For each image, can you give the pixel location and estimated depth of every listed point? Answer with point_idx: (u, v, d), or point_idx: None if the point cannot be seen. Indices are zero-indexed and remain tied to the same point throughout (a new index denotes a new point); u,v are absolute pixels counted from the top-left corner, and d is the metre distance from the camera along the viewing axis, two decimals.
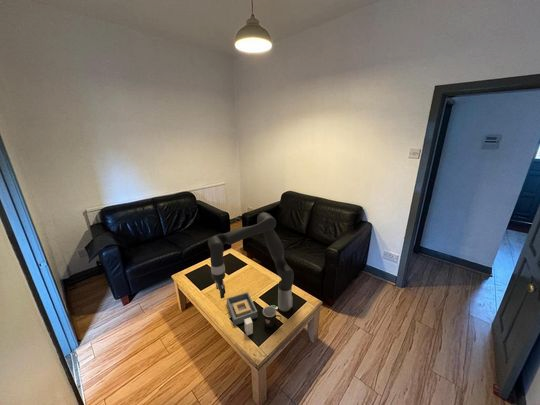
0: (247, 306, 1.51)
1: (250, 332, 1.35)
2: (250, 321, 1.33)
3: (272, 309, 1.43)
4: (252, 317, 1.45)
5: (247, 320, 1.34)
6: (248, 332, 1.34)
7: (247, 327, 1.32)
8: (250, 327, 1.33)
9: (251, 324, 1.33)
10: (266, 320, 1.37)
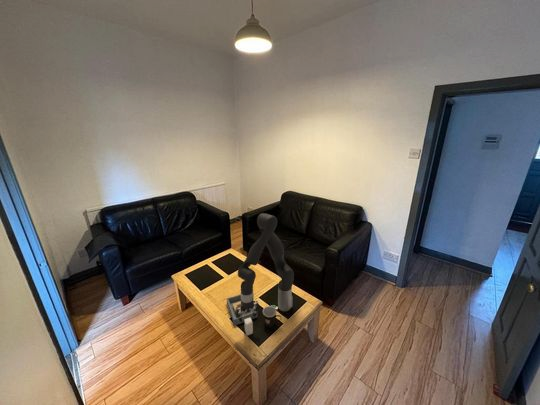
0: None
1: (250, 332, 1.35)
2: (250, 321, 1.33)
3: (272, 309, 1.43)
4: (252, 317, 1.45)
5: (247, 320, 1.34)
6: (248, 332, 1.34)
7: (247, 327, 1.32)
8: (250, 327, 1.33)
9: (251, 324, 1.33)
10: (266, 320, 1.37)
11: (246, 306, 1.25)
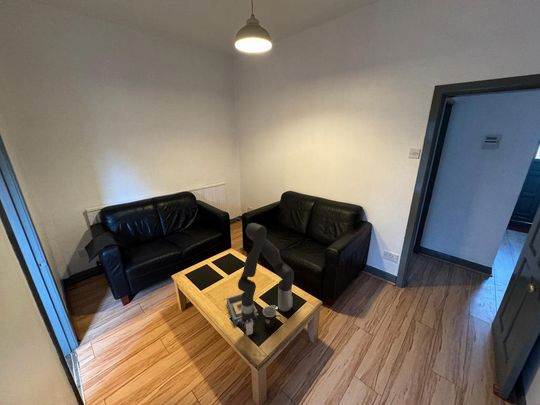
0: None
1: (250, 332, 1.35)
2: (250, 321, 1.33)
3: (272, 309, 1.43)
4: None
5: None
6: (248, 332, 1.34)
7: (247, 327, 1.32)
8: (250, 327, 1.33)
9: (251, 324, 1.33)
10: (266, 320, 1.37)
11: (247, 317, 1.28)
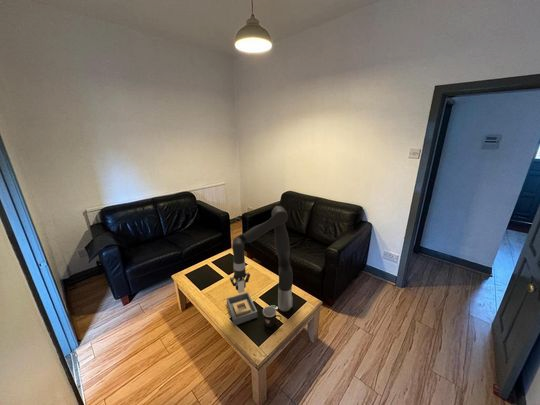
0: (247, 306, 1.51)
1: (242, 291, 1.45)
2: (242, 280, 1.43)
3: (272, 309, 1.43)
4: (252, 317, 1.45)
5: None
6: (240, 290, 1.44)
7: (239, 285, 1.42)
8: (242, 285, 1.43)
9: (243, 282, 1.43)
10: (266, 320, 1.37)
11: (239, 274, 1.38)
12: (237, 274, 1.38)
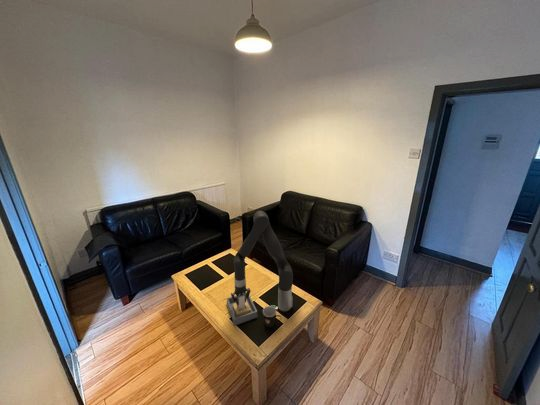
0: (247, 306, 1.51)
1: (243, 306, 1.49)
2: None
3: (272, 309, 1.43)
4: (252, 317, 1.45)
5: None
6: (240, 305, 1.48)
7: (240, 300, 1.47)
8: (242, 300, 1.48)
9: (243, 298, 1.47)
10: (266, 320, 1.37)
11: (239, 290, 1.42)
12: (238, 290, 1.42)
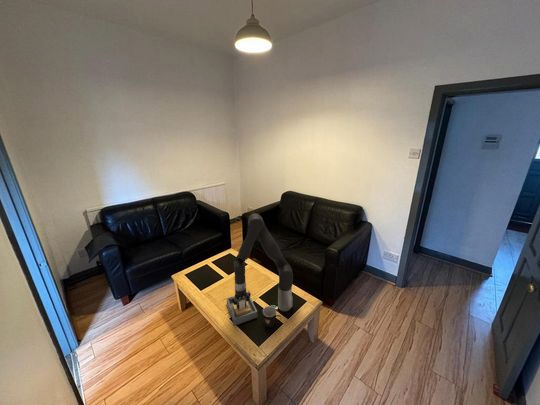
0: (247, 306, 1.51)
1: None
2: (243, 299, 1.49)
3: (272, 309, 1.43)
4: (252, 317, 1.45)
5: None
6: (241, 309, 1.50)
7: (240, 304, 1.48)
8: (242, 304, 1.49)
9: (243, 302, 1.49)
10: (266, 320, 1.37)
11: (239, 294, 1.43)
12: (238, 294, 1.43)
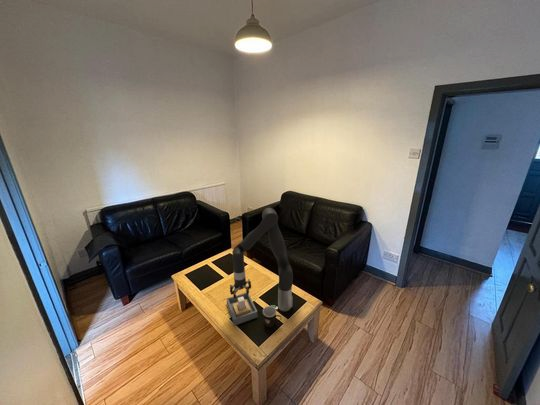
0: (247, 306, 1.51)
1: None
2: (243, 299, 1.49)
3: (272, 309, 1.43)
4: (252, 317, 1.45)
5: (240, 298, 1.49)
6: (241, 309, 1.50)
7: (240, 304, 1.48)
8: (242, 304, 1.49)
9: (243, 302, 1.49)
10: (266, 320, 1.37)
11: (239, 283, 1.40)
12: (237, 283, 1.40)
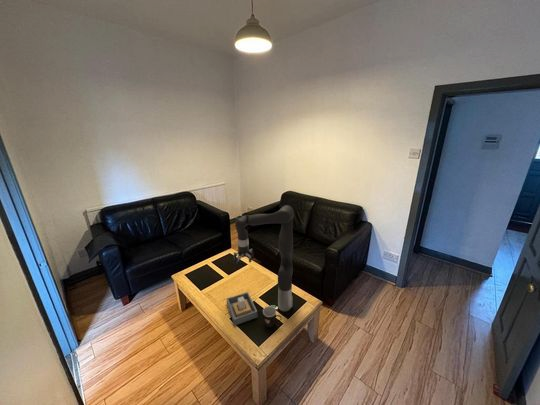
0: (247, 306, 1.51)
1: None
2: (243, 299, 1.49)
3: (272, 309, 1.43)
4: (252, 317, 1.45)
5: (240, 298, 1.49)
6: (241, 309, 1.50)
7: (240, 304, 1.48)
8: (242, 304, 1.49)
9: (243, 302, 1.49)
10: (266, 320, 1.37)
11: (242, 250, 1.49)
12: (241, 250, 1.49)
